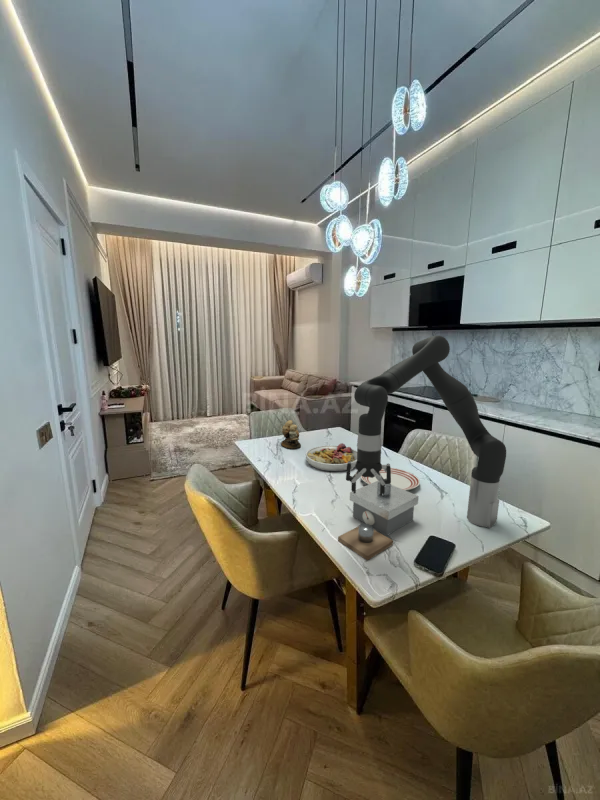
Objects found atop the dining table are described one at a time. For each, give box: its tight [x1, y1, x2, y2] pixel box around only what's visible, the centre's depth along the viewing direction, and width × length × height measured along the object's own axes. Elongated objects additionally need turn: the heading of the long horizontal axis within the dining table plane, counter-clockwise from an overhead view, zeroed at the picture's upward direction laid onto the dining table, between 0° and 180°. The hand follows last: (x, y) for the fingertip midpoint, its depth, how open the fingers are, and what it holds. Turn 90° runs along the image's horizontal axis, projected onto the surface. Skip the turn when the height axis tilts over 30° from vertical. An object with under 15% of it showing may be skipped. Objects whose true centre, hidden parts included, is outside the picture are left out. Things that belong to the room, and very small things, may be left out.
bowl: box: [305, 442, 357, 472], centre depth 183 cm, size 30×30×8 cm
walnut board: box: [337, 525, 394, 561], centre depth 112 cm, size 13×13×2 cm
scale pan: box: [349, 481, 419, 520], centre depth 126 cm, size 18×18×3 cm
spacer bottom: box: [377, 482, 391, 497], centre depth 125 cm, size 5×5×4 cm
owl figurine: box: [280, 419, 302, 450], centre depth 210 cm, size 18×12×17 cm, turn 27°
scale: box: [352, 501, 415, 536], centre depth 126 cm, size 16×17×8 cm
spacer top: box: [358, 523, 375, 543], centre depth 111 cm, size 5×5×4 cm
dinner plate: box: [360, 467, 420, 491], centre depth 158 cm, size 27×27×3 cm
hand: (367, 493), depth 109 cm, fingers open, 8 cm apart
